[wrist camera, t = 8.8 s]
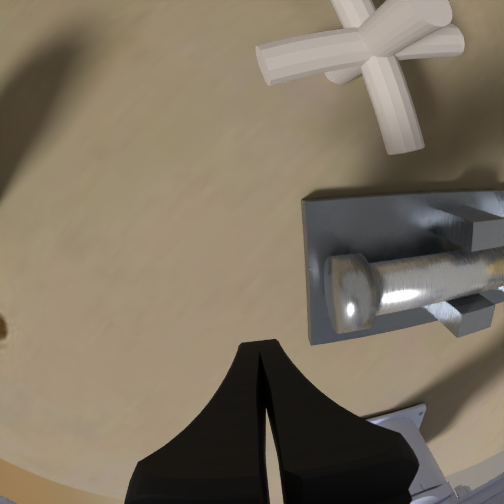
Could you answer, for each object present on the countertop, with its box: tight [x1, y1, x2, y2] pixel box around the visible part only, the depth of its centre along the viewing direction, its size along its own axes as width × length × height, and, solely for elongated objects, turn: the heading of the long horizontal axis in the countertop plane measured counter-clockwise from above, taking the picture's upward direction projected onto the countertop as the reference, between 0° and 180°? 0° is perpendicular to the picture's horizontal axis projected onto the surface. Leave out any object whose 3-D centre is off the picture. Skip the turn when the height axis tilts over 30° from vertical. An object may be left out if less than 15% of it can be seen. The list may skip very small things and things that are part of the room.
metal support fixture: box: [301, 189, 504, 346], centre depth 17 cm, size 9×27×5 cm, turn 96°
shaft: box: [324, 246, 504, 334], centre depth 16 cm, size 4×14×4 cm, turn 96°
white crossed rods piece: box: [256, 0, 465, 155], centre depth 11 cm, size 10×10×10 cm
